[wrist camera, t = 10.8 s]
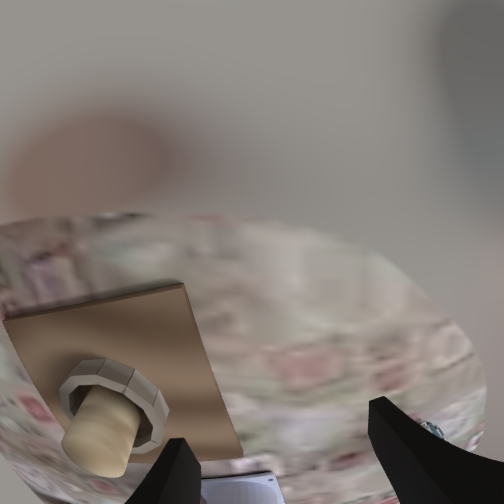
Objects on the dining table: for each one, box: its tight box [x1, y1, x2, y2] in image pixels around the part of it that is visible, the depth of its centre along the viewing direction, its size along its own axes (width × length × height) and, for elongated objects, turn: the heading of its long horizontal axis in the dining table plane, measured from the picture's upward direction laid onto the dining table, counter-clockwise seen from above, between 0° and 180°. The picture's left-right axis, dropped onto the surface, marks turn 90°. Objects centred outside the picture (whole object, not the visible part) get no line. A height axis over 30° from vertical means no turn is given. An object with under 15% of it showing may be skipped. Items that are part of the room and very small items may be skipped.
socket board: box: [2, 283, 243, 463], centre depth 19 cm, size 16×16×3 cm
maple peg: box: [61, 384, 144, 478], centre depth 17 cm, size 4×4×6 cm
